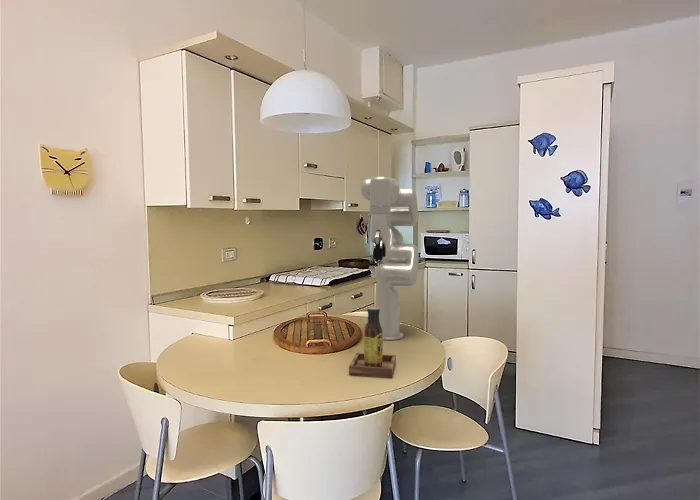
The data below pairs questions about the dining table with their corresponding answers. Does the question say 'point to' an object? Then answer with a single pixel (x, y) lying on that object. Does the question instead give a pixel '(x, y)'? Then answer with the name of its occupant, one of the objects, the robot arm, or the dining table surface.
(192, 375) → the dining table surface
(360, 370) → the tray
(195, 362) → the dining table surface
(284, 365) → the dining table surface
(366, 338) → the sauce bottle
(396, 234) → the robot arm
